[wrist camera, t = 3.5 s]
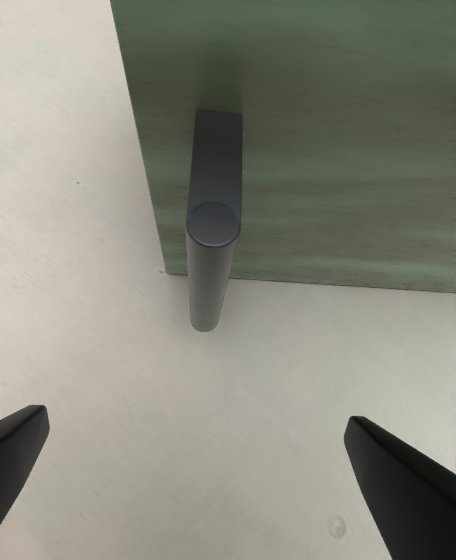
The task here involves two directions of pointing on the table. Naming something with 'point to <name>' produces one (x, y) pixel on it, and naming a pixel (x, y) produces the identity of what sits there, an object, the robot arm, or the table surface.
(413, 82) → the green cabinet door
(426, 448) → the table surface
